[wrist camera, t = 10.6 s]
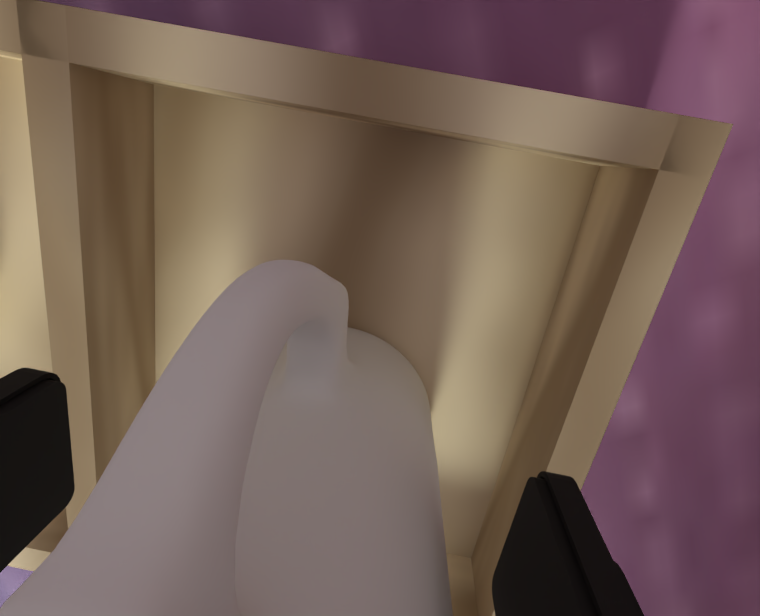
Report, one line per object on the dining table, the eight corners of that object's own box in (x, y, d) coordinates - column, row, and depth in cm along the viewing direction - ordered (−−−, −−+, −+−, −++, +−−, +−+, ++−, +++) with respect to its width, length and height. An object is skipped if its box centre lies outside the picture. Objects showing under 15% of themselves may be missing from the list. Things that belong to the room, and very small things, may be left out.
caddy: (638, 133, 12) (732, 124, 8) (487, 564, 17) (505, 671, 14) (-307, -37, 12) (-601, -114, 9) (-164, 429, 18) (-310, 498, 14)
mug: (424, 504, 16) (452, 1435, 4) (238, 480, 16) (-199, 1296, 5) (468, 218, 12) (1198, 1090, 1) (230, 195, 12) (-1620, 613, 1)
